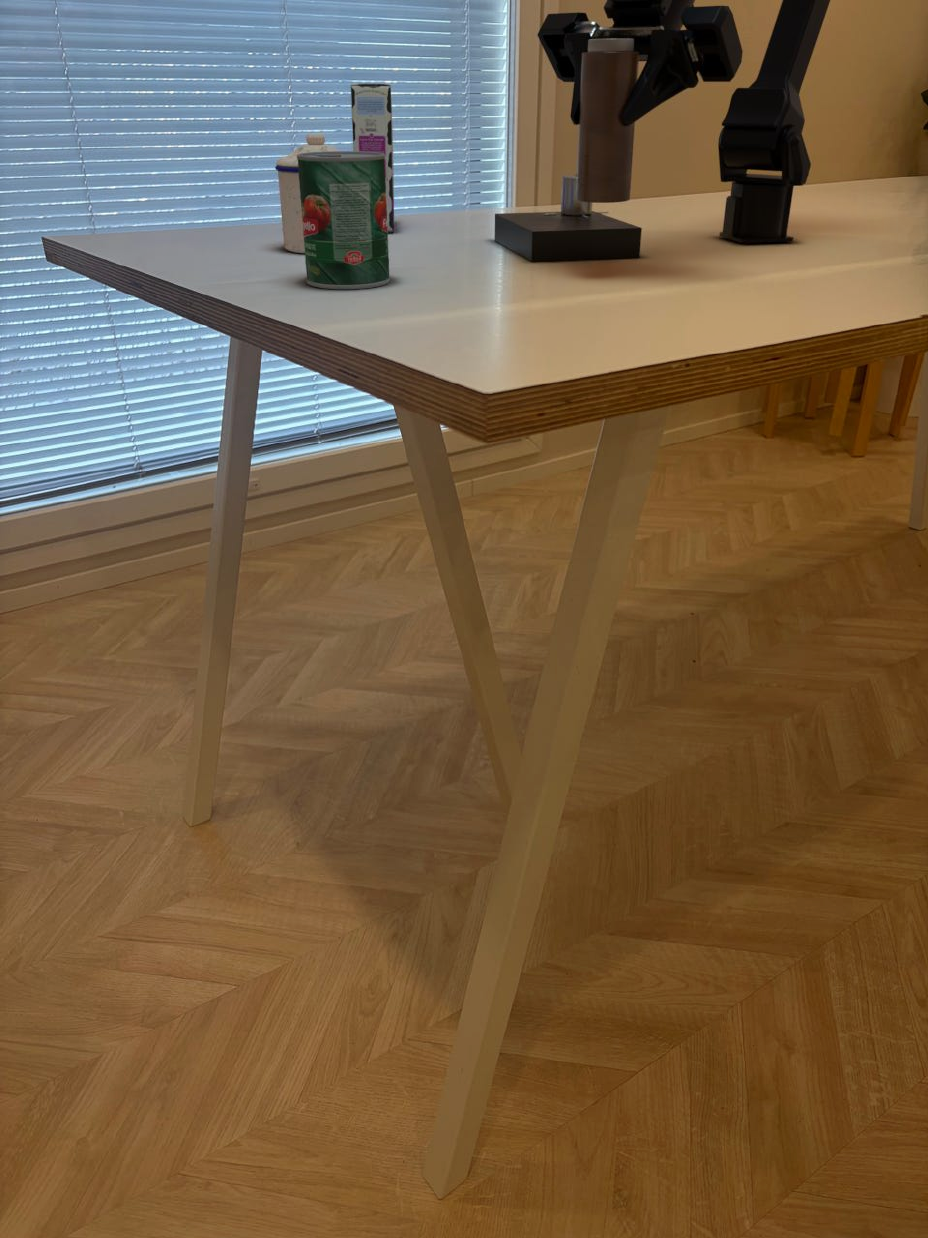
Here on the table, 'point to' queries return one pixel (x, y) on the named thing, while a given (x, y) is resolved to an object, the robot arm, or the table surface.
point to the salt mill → (606, 121)
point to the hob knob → (572, 198)
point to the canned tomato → (344, 219)
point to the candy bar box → (375, 131)
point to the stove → (567, 236)
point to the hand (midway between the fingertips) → (598, 121)
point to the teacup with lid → (295, 192)
